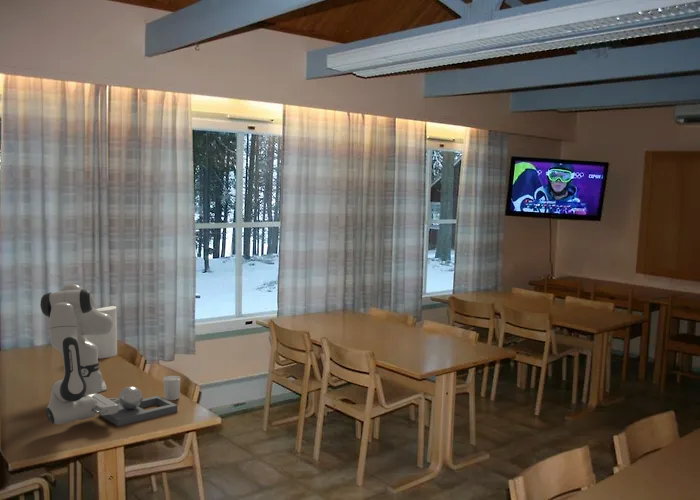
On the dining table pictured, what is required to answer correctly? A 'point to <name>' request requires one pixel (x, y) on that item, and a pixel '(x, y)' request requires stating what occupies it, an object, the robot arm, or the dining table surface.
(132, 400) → the steel ball
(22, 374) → the dining table surface
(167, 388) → the white cup
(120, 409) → the tray
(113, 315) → the cylinder
